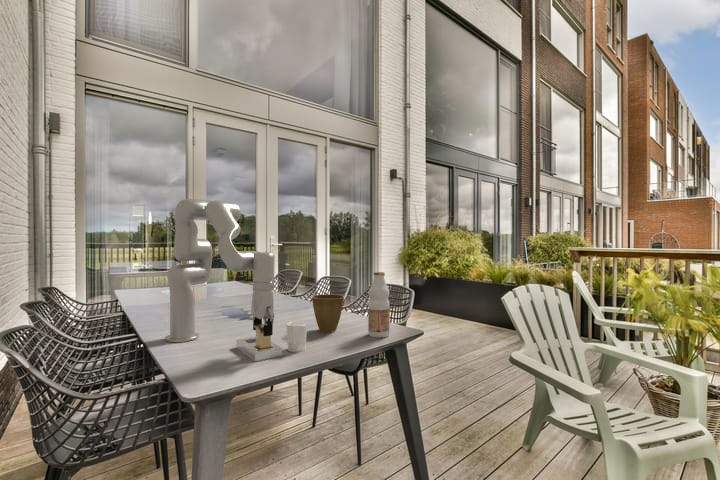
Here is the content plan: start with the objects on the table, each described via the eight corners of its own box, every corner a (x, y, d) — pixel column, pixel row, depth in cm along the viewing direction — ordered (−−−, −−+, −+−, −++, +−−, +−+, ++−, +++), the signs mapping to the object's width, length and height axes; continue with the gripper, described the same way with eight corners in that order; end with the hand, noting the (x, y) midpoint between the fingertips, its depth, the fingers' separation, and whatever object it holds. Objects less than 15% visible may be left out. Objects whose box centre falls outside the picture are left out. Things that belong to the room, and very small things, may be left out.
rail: (236, 347, 141) (236, 339, 141) (260, 343, 147) (260, 335, 147) (255, 361, 125) (255, 352, 125) (281, 356, 131) (282, 347, 131)
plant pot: (343, 335, 160) (343, 299, 160) (309, 334, 160) (309, 298, 160) (344, 326, 175) (345, 293, 175) (314, 326, 175) (314, 293, 175)
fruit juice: (366, 337, 157) (367, 272, 157) (370, 331, 166) (370, 271, 166) (388, 338, 155) (388, 273, 155) (390, 333, 164) (390, 271, 164)
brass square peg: (254, 354, 132) (254, 325, 132) (266, 352, 135) (266, 323, 135) (259, 358, 129) (259, 327, 129) (272, 355, 132) (272, 325, 132)
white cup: (289, 353, 134) (289, 326, 134) (283, 348, 141) (283, 322, 141) (309, 350, 137) (310, 324, 137) (303, 345, 144) (303, 320, 144)
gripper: (244, 283, 137) (244, 328, 137) (262, 290, 123) (261, 340, 123) (263, 282, 141) (263, 326, 141) (283, 288, 127) (282, 336, 128)
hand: (262, 332), depth 132 cm, fingers open, 9 cm apart
